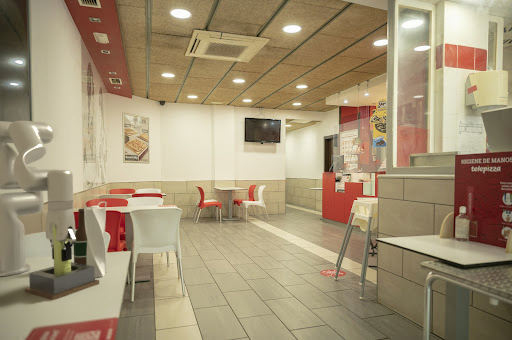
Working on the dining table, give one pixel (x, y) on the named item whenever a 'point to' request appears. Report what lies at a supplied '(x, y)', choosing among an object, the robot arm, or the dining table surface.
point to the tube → (59, 257)
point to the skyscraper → (96, 238)
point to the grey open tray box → (61, 281)
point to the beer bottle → (80, 241)
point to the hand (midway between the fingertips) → (62, 258)
